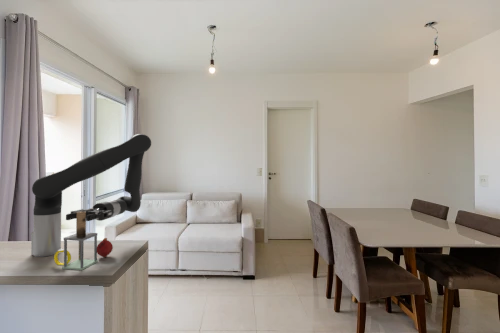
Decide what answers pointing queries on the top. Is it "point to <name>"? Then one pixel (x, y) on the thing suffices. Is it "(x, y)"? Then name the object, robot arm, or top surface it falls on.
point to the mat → (77, 264)
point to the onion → (104, 248)
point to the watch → (57, 257)
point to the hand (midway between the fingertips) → (76, 217)
